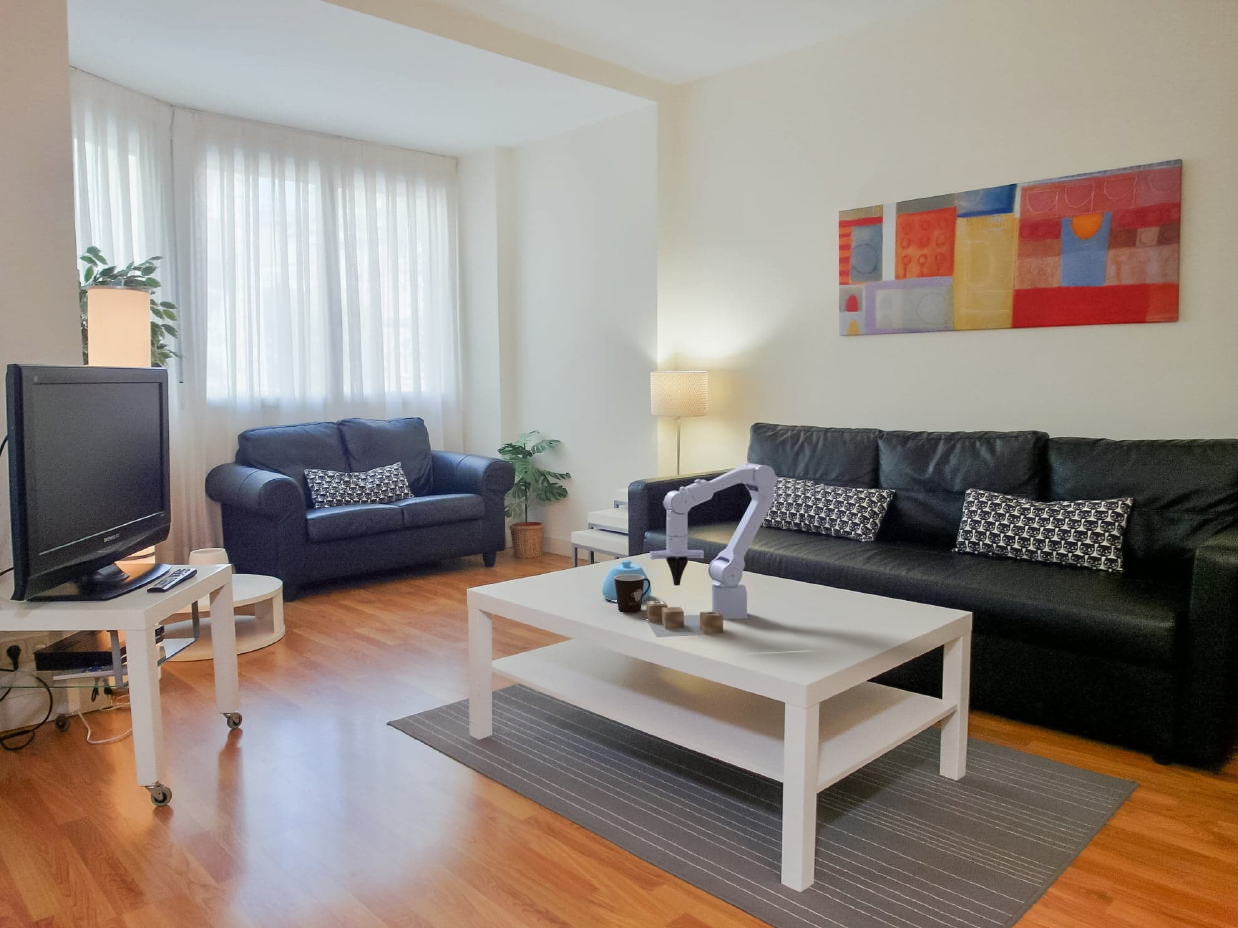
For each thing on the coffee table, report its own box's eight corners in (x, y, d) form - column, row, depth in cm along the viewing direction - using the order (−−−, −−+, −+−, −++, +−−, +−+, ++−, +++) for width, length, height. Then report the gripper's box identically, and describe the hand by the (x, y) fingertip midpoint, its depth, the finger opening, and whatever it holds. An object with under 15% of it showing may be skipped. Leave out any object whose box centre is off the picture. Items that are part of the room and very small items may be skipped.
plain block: (680, 623, 239) (680, 606, 239) (683, 627, 234) (683, 611, 234) (661, 623, 238) (661, 607, 238) (665, 628, 233) (665, 612, 233)
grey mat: (708, 615, 248) (707, 614, 248) (725, 634, 228) (725, 633, 228) (644, 618, 246) (644, 617, 246) (656, 638, 226) (656, 636, 226)
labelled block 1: (664, 616, 246) (664, 599, 246) (667, 621, 241) (667, 603, 241) (646, 617, 245) (646, 600, 245) (649, 622, 240) (649, 604, 240)
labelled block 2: (718, 627, 234) (718, 610, 233) (723, 633, 229) (723, 614, 228) (700, 628, 233) (699, 610, 233) (704, 633, 228) (704, 615, 228)
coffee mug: (619, 616, 248) (618, 581, 248) (611, 609, 257) (610, 575, 256) (658, 613, 252) (658, 578, 251) (649, 606, 260) (649, 572, 259)
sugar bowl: (652, 592, 278) (652, 556, 277) (649, 604, 263) (649, 565, 262) (605, 592, 279) (604, 556, 278) (599, 603, 264) (598, 565, 263)
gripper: (653, 538, 236) (652, 588, 237) (706, 537, 238) (706, 587, 239) (648, 534, 243) (648, 582, 244) (700, 533, 245) (700, 581, 246)
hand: (676, 584), depth 242 cm, fingers closed
